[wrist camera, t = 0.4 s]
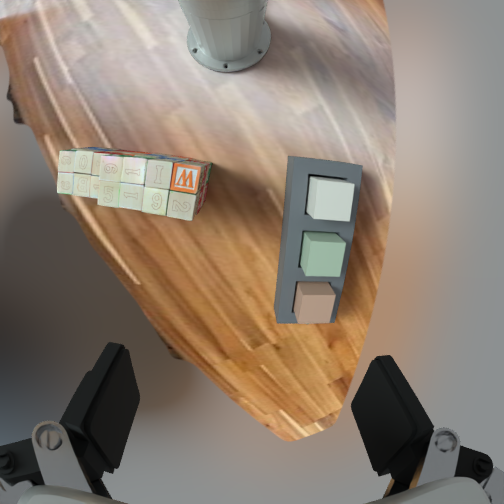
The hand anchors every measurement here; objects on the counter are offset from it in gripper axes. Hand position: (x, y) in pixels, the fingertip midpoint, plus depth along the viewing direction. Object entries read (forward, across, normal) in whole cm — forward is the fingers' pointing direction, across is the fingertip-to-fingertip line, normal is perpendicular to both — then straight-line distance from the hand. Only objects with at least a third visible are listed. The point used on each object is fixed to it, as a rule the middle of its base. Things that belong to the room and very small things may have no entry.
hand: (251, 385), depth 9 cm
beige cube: (+31, -12, +12) cm, 36 cm away
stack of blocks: (+35, +16, -5) cm, 38 cm away
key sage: (+31, -11, +4) cm, 33 cm away
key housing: (+35, -11, +4) cm, 37 cm away
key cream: (+31, -11, -4) cm, 33 cm away
